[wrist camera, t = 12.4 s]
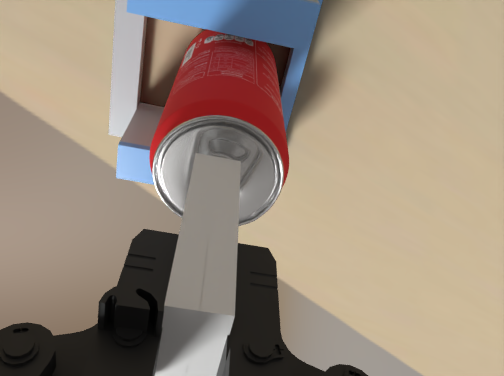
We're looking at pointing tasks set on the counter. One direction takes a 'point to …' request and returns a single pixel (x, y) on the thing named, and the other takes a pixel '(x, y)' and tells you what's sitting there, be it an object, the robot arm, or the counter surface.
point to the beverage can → (223, 122)
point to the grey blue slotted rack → (206, 17)
